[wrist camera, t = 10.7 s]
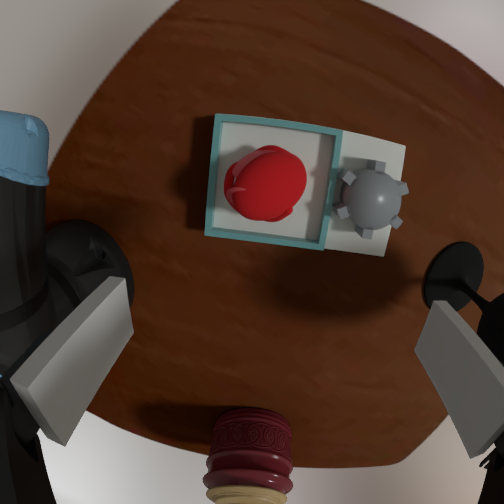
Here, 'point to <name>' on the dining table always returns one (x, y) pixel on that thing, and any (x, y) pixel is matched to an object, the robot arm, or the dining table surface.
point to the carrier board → (312, 185)
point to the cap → (265, 184)
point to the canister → (249, 458)
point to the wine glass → (466, 291)
